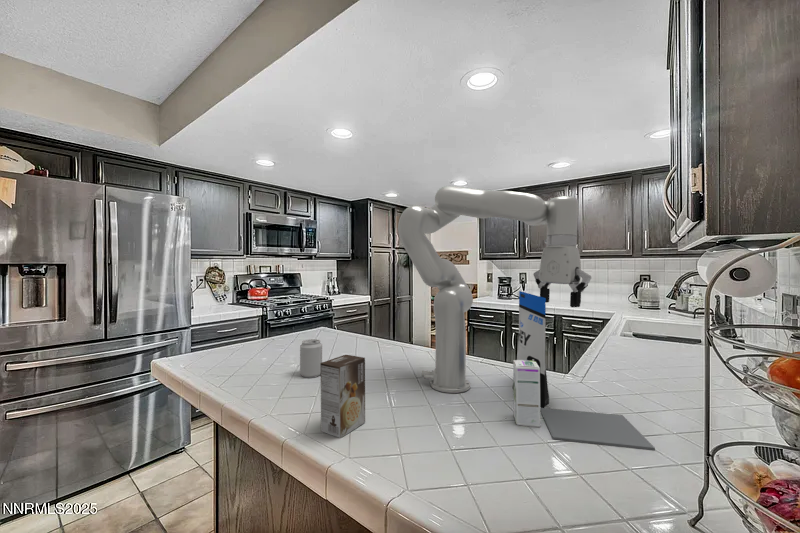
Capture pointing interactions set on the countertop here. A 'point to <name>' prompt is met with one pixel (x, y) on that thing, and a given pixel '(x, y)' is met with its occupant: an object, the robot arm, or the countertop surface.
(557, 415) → the mat
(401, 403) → the countertop surface
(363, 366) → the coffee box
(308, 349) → the can
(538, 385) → the syrup box
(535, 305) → the protein powder
